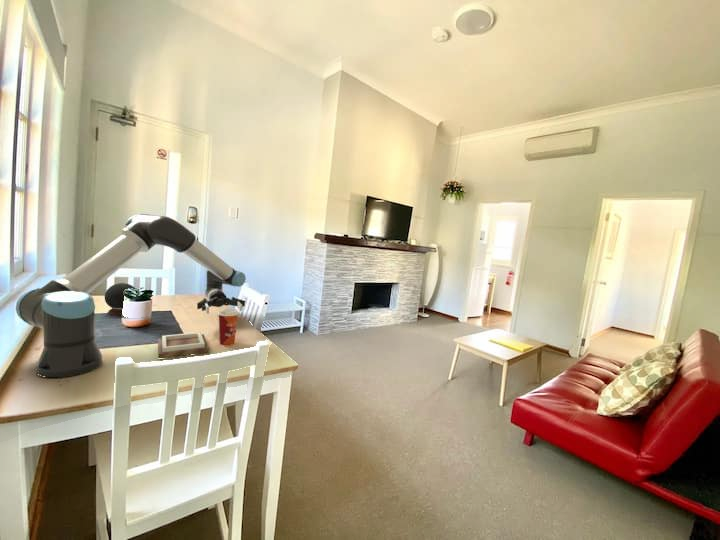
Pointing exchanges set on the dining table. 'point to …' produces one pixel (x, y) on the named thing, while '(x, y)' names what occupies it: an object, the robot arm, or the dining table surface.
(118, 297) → the round bulbous part
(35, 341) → the dining table surface
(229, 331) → the paper cup
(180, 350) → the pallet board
